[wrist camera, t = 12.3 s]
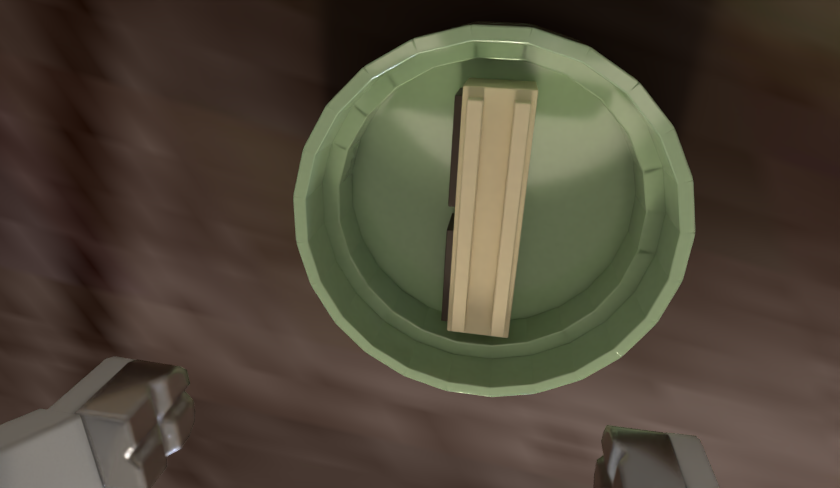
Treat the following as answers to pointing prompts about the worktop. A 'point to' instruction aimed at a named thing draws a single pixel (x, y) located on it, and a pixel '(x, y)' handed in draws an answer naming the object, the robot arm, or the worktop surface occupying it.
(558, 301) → the bowl
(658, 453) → the robot arm
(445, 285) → the grooved wooden strip
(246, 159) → the worktop surface
